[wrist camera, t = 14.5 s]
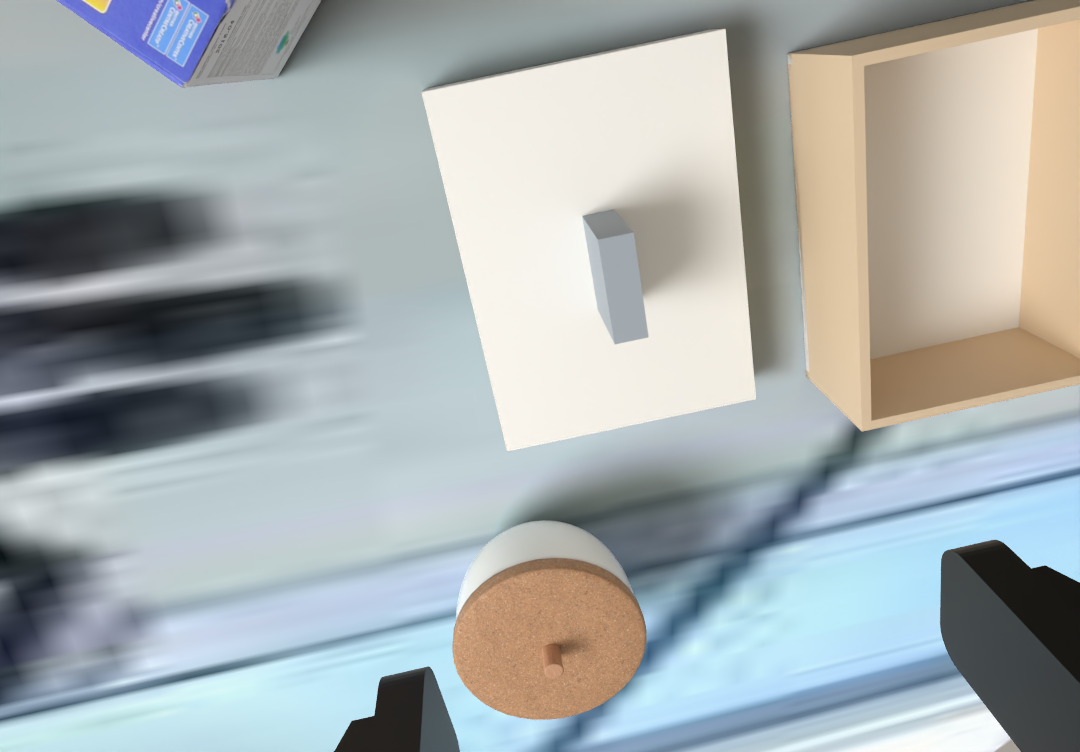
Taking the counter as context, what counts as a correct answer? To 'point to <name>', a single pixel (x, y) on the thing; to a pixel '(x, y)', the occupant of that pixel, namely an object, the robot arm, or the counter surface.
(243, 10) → the ink cartridge box
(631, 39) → the counter surface
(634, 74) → the lid
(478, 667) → the lidded jar
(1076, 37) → the base
